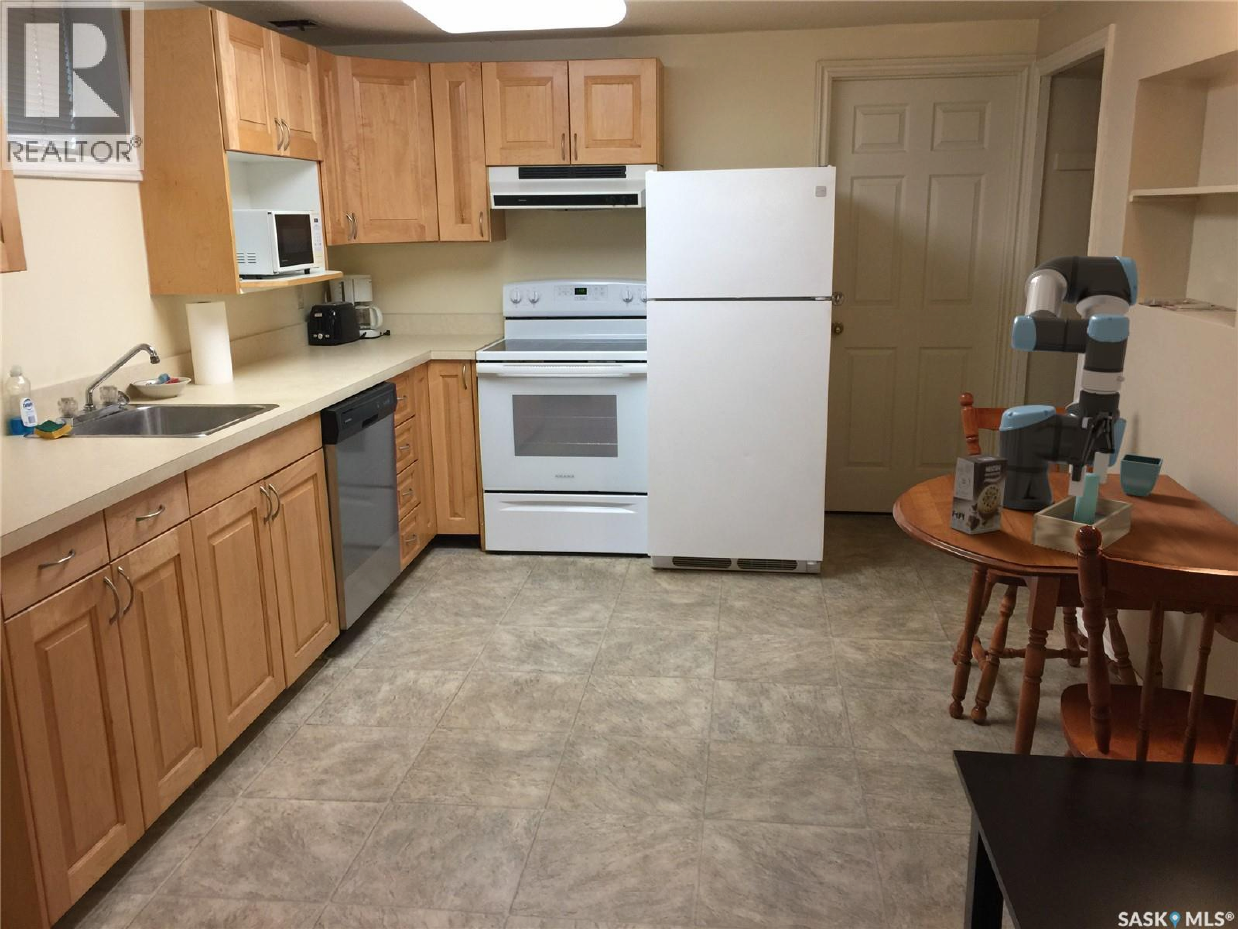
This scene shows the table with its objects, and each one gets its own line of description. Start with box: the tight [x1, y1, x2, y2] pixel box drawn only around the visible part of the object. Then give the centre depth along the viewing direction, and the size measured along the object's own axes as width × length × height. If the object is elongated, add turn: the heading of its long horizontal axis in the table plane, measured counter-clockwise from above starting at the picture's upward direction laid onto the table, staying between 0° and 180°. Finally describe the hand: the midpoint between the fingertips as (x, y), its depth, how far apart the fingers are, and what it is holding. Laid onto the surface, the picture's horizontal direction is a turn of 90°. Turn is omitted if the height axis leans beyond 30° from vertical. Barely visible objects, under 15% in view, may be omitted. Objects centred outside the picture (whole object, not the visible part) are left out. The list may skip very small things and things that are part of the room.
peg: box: [1073, 472, 1100, 525], centre depth 210 cm, size 4×4×14 cm
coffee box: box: [949, 453, 1008, 535], centre depth 215 cm, size 9×6×16 cm
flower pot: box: [1119, 453, 1164, 498], centre depth 246 cm, size 9×9×9 cm
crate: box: [1030, 495, 1134, 556], centre depth 211 cm, size 12×24×6 cm, turn 136°
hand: (1087, 489), depth 209 cm, fingers open, 13 cm apart
